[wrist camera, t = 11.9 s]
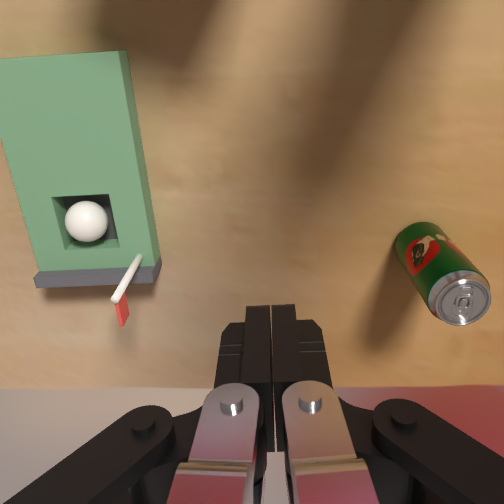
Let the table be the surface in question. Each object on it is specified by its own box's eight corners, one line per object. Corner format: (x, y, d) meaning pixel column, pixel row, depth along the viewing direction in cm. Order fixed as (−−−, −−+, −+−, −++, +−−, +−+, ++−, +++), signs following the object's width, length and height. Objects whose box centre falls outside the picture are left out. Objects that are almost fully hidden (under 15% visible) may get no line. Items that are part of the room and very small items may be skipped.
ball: (75, 245, 47) (74, 207, 47) (114, 242, 47) (113, 204, 47) (57, 240, 43) (56, 198, 43) (99, 237, 43) (98, 195, 43)
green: (-6, 59, 41) (-93, 66, 31) (126, 49, 41) (81, 54, 31) (54, 274, 50) (1, 332, 40) (162, 269, 50) (136, 327, 40)
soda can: (390, 264, 49) (426, 329, 38) (396, 219, 47) (436, 274, 36) (438, 264, 49) (488, 330, 38) (447, 219, 46) (503, 275, 36)
